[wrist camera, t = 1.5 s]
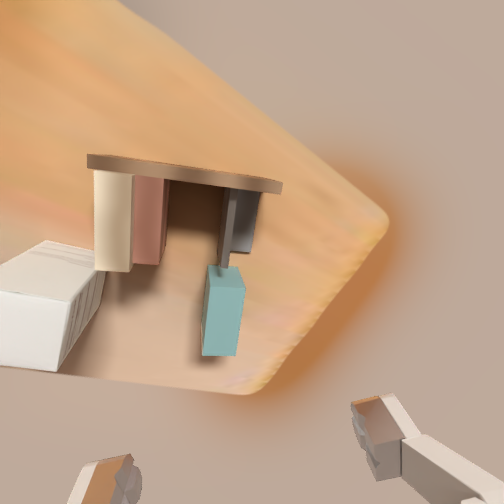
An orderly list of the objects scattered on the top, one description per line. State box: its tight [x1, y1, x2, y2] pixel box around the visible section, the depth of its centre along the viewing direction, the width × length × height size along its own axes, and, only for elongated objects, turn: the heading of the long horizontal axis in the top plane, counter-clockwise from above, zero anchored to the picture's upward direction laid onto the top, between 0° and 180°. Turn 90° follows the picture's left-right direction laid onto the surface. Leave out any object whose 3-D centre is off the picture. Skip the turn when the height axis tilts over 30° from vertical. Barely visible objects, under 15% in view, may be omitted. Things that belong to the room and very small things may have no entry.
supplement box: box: [0, 240, 106, 372], centre depth 29 cm, size 7×7×13 cm
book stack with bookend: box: [87, 154, 283, 272], centre depth 31 cm, size 18×10×9 cm, turn 82°
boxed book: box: [201, 265, 246, 356], centre depth 36 cm, size 4×9×7 cm, turn 172°
